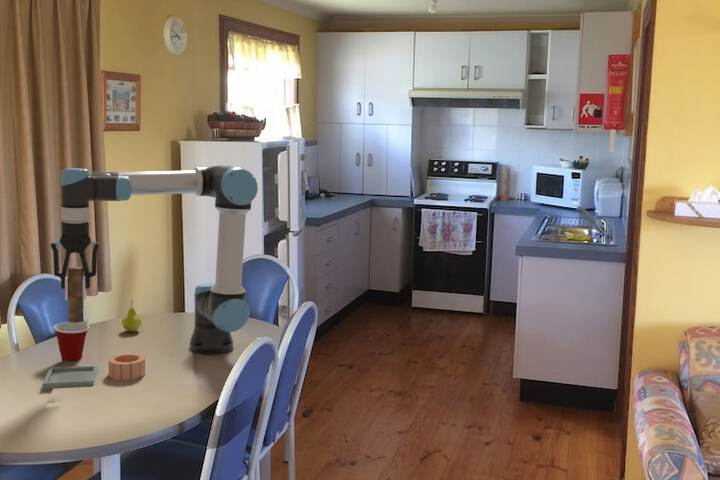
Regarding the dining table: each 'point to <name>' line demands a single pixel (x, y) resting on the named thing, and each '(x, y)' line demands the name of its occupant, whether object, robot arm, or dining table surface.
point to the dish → (70, 376)
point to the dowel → (75, 294)
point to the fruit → (131, 321)
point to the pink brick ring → (126, 366)
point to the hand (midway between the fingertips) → (75, 299)
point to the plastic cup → (71, 339)
